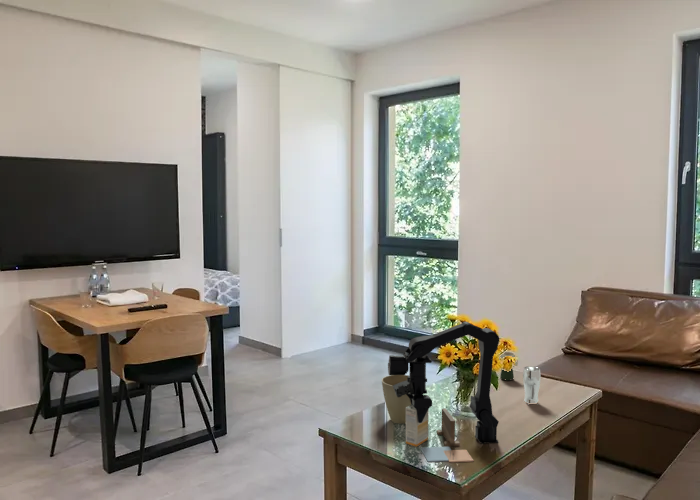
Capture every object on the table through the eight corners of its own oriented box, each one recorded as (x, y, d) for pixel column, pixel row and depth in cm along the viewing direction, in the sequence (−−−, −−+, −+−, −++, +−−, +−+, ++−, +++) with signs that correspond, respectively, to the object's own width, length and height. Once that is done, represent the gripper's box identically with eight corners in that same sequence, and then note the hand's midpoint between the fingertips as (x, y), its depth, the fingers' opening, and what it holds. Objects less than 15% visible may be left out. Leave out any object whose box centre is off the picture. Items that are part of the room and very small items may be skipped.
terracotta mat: (466, 450, 186) (466, 449, 186) (473, 461, 178) (473, 460, 178) (443, 451, 185) (443, 450, 185) (449, 462, 177) (449, 461, 177)
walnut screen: (450, 432, 202) (450, 408, 201) (459, 445, 190) (460, 420, 189) (436, 432, 201) (437, 408, 201) (445, 446, 189) (445, 421, 189)
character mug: (521, 380, 263) (521, 354, 262) (513, 384, 258) (513, 357, 258) (501, 376, 271) (501, 350, 270) (493, 378, 266) (493, 352, 265)
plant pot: (375, 423, 210) (375, 383, 209) (389, 411, 223) (389, 372, 222) (412, 430, 203) (413, 388, 202) (424, 417, 217) (425, 377, 216)
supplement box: (417, 436, 198) (417, 400, 197) (428, 439, 195) (429, 403, 194) (404, 443, 192) (404, 407, 191) (416, 447, 189) (416, 410, 188)
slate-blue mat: (449, 447, 189) (449, 446, 189) (457, 460, 179) (457, 459, 179) (420, 448, 188) (420, 447, 188) (427, 462, 178) (427, 460, 178)
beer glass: (541, 402, 234) (542, 367, 233) (537, 407, 228) (538, 371, 227) (525, 399, 238) (525, 365, 237) (520, 403, 232) (521, 369, 231)
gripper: (390, 367, 200) (390, 409, 201) (399, 383, 182) (399, 429, 183) (420, 366, 201) (419, 408, 203) (432, 382, 183) (432, 428, 184)
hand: (417, 418), depth 193 cm, fingers closed on supplement box, 8 cm apart
